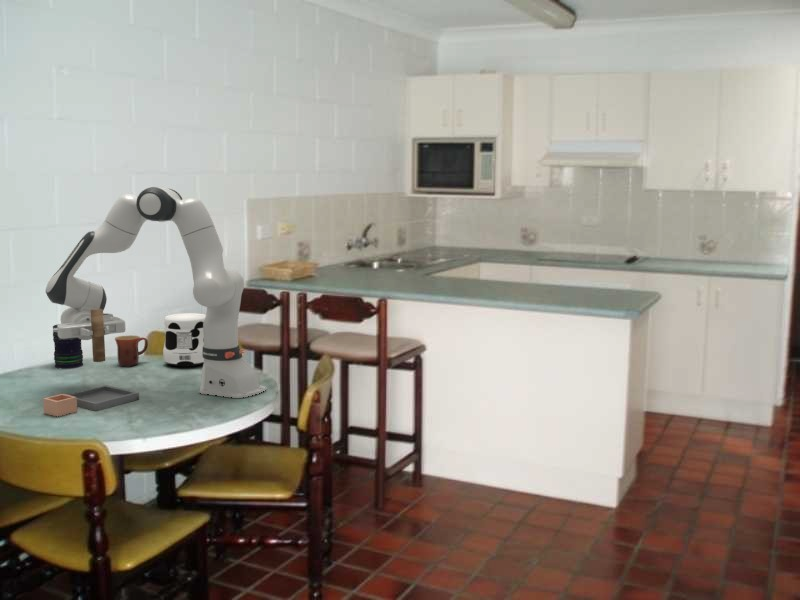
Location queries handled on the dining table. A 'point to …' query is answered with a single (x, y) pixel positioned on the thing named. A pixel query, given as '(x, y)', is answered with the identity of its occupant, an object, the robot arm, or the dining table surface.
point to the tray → (104, 397)
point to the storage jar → (67, 352)
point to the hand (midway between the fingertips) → (98, 332)
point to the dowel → (98, 335)
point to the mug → (129, 349)
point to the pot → (60, 405)
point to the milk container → (184, 339)
